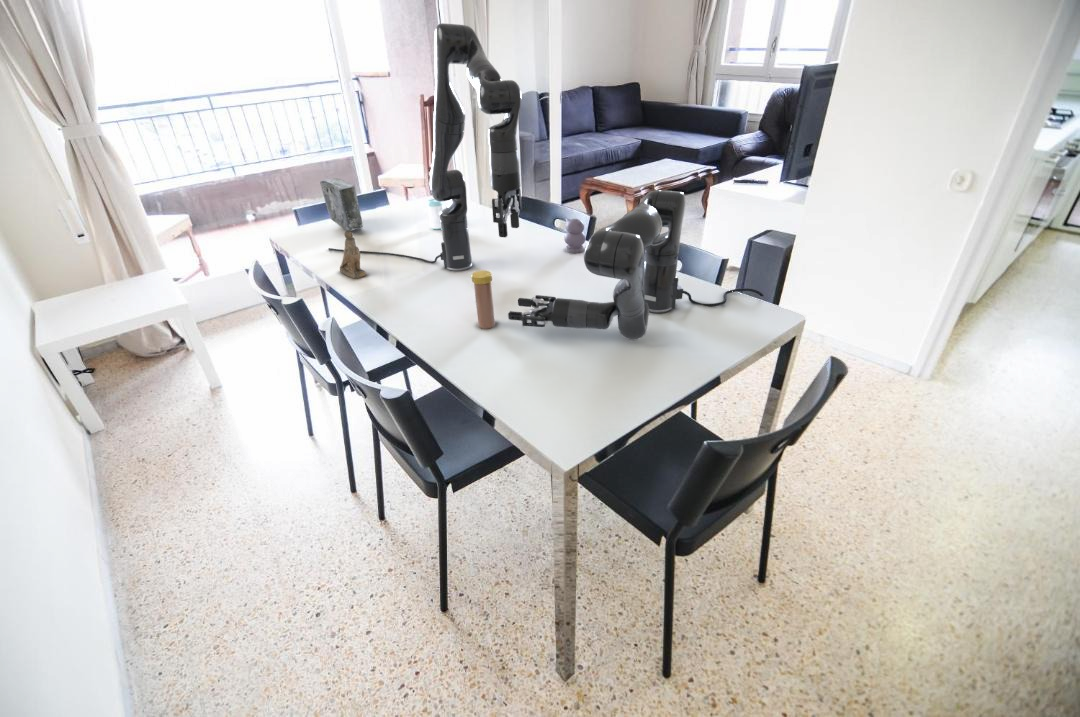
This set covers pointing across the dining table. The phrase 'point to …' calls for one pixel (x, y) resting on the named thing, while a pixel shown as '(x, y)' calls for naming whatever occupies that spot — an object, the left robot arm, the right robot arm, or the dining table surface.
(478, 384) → the dining table surface
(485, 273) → the lid
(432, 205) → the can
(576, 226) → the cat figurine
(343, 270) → the worn brown figurine
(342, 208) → the concrete block
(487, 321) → the jar
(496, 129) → the left robot arm
